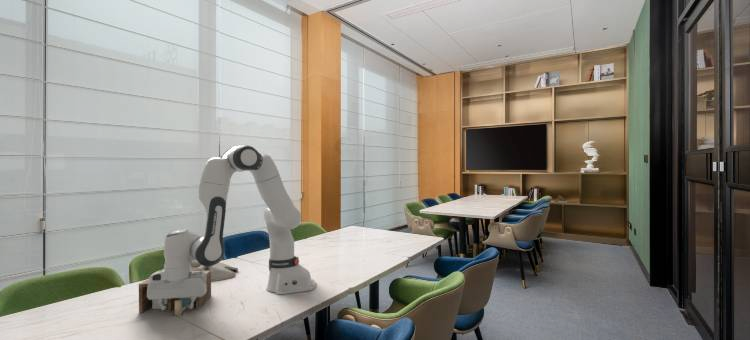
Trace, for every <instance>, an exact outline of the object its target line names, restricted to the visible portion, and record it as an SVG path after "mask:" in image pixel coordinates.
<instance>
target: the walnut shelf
mask: <svg viewBox="0 0 750 340" xmlns="http://www.w3.org/2000/svg"><path fill="white" fill-rule="evenodd" d="M191 272H203V273H205V274H206V276H207V280H206V286H207V292H206V294H205V295H204V296H202V297H197V298H196V304H195V309H196V310H200V309H201V308H202V307H203V305H204V304H205V303H206V302H207V301H208V300H209V299H210V298H211V296H212V282H211V270H208V271H191ZM149 282H151V281H150V280H149V277H148V278H147V279H144V280H143V281H141V282H140V283H138V313H139V314H142V313H144V312H145V311H146V310H148V309H149V308H150V307H152V306H151V305H152V300H149V299H148V298H147V287H148V284H149ZM177 299H179V298H171V299H168V309H167V311H168V312H171V311H172V310H174V309H175V300H177Z"/></svg>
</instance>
